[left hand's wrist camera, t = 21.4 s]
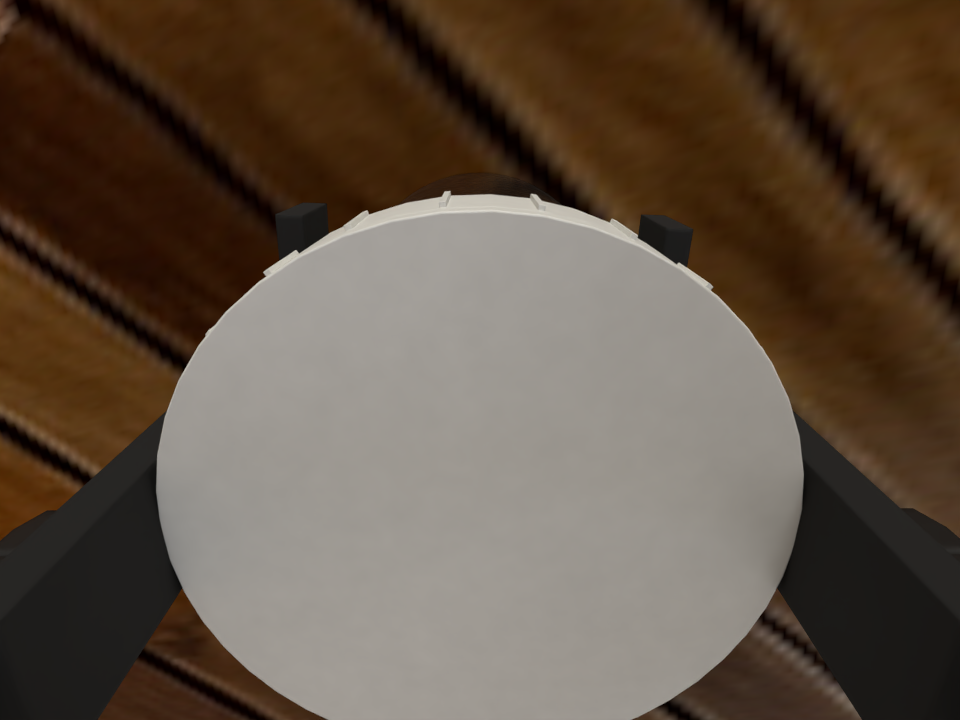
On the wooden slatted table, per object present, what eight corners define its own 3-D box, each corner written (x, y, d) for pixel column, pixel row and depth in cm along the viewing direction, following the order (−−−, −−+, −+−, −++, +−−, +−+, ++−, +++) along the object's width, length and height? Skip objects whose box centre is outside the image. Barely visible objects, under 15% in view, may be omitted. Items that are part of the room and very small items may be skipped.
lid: (95, 459, 12) (22, 523, 10) (496, 39, 9) (501, 16, 7) (469, 733, 15) (468, 823, 13) (857, 481, 12) (928, 548, 10)
